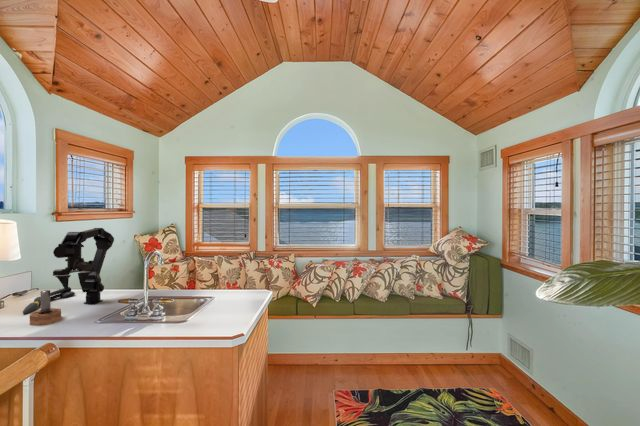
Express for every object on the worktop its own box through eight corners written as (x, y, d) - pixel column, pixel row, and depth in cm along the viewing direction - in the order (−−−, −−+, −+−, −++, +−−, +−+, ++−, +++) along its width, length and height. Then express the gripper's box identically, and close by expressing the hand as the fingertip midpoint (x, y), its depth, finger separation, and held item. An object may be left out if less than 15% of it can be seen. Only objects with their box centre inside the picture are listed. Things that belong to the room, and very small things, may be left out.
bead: (47, 315, 161) (47, 307, 161) (66, 317, 160) (66, 309, 160) (23, 324, 151) (23, 315, 150) (44, 325, 149) (44, 317, 149)
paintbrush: (33, 314, 163) (32, 304, 163) (20, 315, 162) (20, 305, 161) (49, 302, 182) (48, 293, 182) (37, 303, 180) (37, 294, 180)
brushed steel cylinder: (46, 319, 157) (45, 289, 157) (52, 319, 157) (52, 290, 156) (39, 321, 154) (38, 291, 153) (45, 322, 153) (45, 292, 153)
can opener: (68, 294, 197) (67, 285, 197) (76, 296, 195) (76, 286, 195) (34, 303, 181) (34, 293, 180) (43, 305, 178) (42, 294, 178)
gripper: (73, 257, 157) (73, 290, 156) (103, 254, 176) (103, 284, 175) (51, 258, 158) (51, 291, 157) (84, 255, 177) (84, 285, 176)
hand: (74, 287), depth 166 cm, fingers open, 9 cm apart
